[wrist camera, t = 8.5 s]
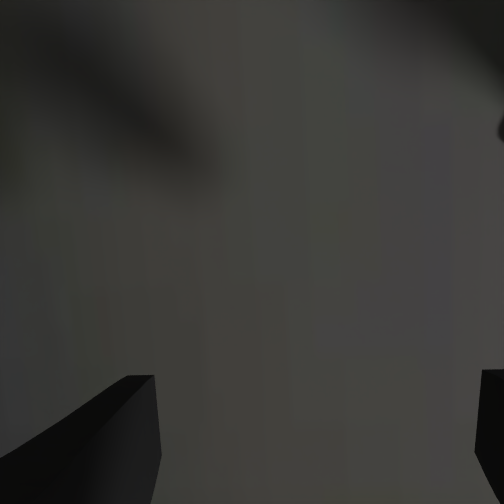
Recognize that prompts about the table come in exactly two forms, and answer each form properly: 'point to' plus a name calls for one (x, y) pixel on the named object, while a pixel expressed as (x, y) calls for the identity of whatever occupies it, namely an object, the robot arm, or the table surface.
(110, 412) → the robot arm
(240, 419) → the table surface
